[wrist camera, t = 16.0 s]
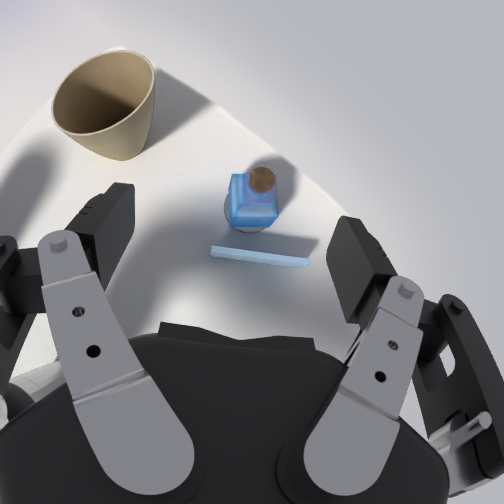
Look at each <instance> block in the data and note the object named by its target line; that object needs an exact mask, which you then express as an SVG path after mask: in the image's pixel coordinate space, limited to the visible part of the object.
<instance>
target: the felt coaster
mask: <svg viewBox="0 0 504 504" xmlns="http://www.w3.org/2000/svg"><path fill="white" fill-rule="evenodd" d="M224 212H225V216H226V218H227V220H228V222H229V194H228V195H227V197H226V199H225V203H224ZM234 228H235V229H237V230H239V231H242V232H246V233H254V232H258V231H261V230H263V229H264V228H265V227H234Z"/></svg>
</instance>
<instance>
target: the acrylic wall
mask: <svg viewBox="0 0 504 504" xmlns="http://www.w3.org/2000/svg"><path fill="white" fill-rule="evenodd" d="M210 256H213V257H220V258H228V259H235V260H242V261H250V262H257V263H265V264H272V265H280V266H287V267H295V268H301V267H304V266H307V265H310V259H306V258H299V257H292V256H285V255H277V254H270V253H263V252H256V251H249V250H242V249H234V248H227V247H220V246H213V245H212V246H211V255H210Z"/></svg>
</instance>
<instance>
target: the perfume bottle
mask: <svg viewBox="0 0 504 504" xmlns="http://www.w3.org/2000/svg"><path fill="white" fill-rule="evenodd" d="M277 217H278V206H277V190H276V175H274V174H273V172H272V171H271V170H269V169H267V168H264V167H258V168H256V169H254V170H253V171H252V172H251V174H232V176H231V181H230V185H229V227H269V226H270V225H271V224H272V223H273V222H274V221H275V220H276V219H277Z"/></svg>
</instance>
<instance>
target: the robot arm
mask: <svg viewBox="0 0 504 504" xmlns="http://www.w3.org/2000/svg"><path fill="white" fill-rule="evenodd" d="M134 227H135V188H134V185H133V184H126V183H116V182H115V183H113V184H112V186H111V187H110V188H109V189H108V190H107V191H106V192H105V193H104V194H99V195H97V196H95V197H93V198H92V199H90V200H89V201H88V202H87V203H86V205H85V206H84V208H82V209H81V210H80V211H79V214H77V215H76V216H75V217H74V218H73V220H72V221H71V222H70V223H69V224H68V226H67V227H66V228H65V229H64V230H59V231H55V232H52V233H49V234H48V235H46V236H45V237H43V238H42V239H41V240H40V242H39V244H38V247H36V248H27V249H18V245H17V242H16V239H15V238H14V237H12V236H0V504H447V499H448V498H451V497H454V496H457V495H459V494H462V493H464V492H467V491H471V490H474V489H476V488H478V487H480V486H482V485H484V484H486V483H488V482H490V481H492V480H494V479H496V478H498V477H499V476H500V475H502V474H503V473H504V381H503V378H502V376H501V374H500V371H499V369H498V367H497V365H496V362H495V361H494V358H493V356H492V354H491V352H490V350H489V348H488V345H487V343H486V341H485V339H484V337H483V336H482V334H481V332H480V330H479V328H478V326H477V324H476V322H475V320H474V319H473V317H472V315H471V313H470V311H469V310H468V308H467V306H466V305H465V304H464V303H463V302H462V301H461V300H460V299H458V298H457V297H455V296H453V295H450V294H445V295H443V296H442V298H441V299H440V300H439V302H438V303H437V304H436V303H434V302H431V301H428V300H425V299H424V294H423V292H422V290H421V289H420V288H419V286H418V285H417V284H416V283H414V282H413V281H411V280H410V279H407V278H405V277H402V276H398V274H397V273H396V271H395V269H394V267H393V266H392V264H391V262H390V260H389V259H388V257H386V256H387V255H386V254H385V252H384V251H383V249H382V247H381V245H380V244H379V242H378V241H377V240H376V239H375V238H374V237H373V236H372V235H371V234H370V233H368V231H367V230H366V228H365V226H364V225H363V223H362V221H361V220H360V219H357V218H352V217H347V216H341V217H340V218H339V220H338V222H337V225H336V228H335V230H334V233H333V236H332V238H331V241H330V243H329V246H328V249H327V254H326V261H327V265H328V268H329V271H330V274H331V277H332V280H333V283H334V286H335V289H336V292H337V295H338V298H339V301H340V304H341V307H342V310H343V313H344V317H345V320H346V323H354V324H359V326H360V330H359V332H358V333H357V335H356V337H355V339H354V340H353V342H352V344H351V346H350V347H349V349H348V351H347V353H346V354H345V356H344V358H343V360H342V361H340V360H338V359H336V358H335V357H333V356H331V355H329V354H327V353H324V352H321V351H319V350H315V345H314V340H313V338H304V337H289V336H271V337H264V338H256V339H247V340H236V339H233V338H230V337H227V336H223V335H220V334H217V333H214V332H211V331H208V330H206V329H203V328H200V327H194V326H186V325H179V324H173V323H166V322H161V323H160V327H159V331H158V333H151V334H145V335H140V336H137V337H133V338H131V339H128V340H127V338H126V336H125V334H124V332H123V330H122V328H121V326H120V324H119V322H118V320H117V318H116V316H115V314H114V312H113V310H112V308H111V306H110V303H109V301H108V299H107V297H106V295H105V290H106V288H107V286H108V284H109V281H110V279H111V277H112V275H113V273H114V271H115V269H116V267H117V265H118V263H119V261H120V259H121V257H122V255H123V253H124V251H125V249H126V247H127V245H128V243H129V241H130V239H131V237H132V235H133V232H134ZM37 313H47V317H48V321H49V325H50V329H51V333H52V337H53V340H54V344H55V347H56V351H57V354H58V358H59V360H58V361H54V362H52V363H50V364H47V365H44V366H42V367H39V368H37V369H34V370H32V371H29V372H26V373H24V374H21V375H19V376H16V377H13V378H11V379H10V377H11V374H12V372H13V369H14V366H15V364H16V361H17V359H18V356H19V354H20V351H21V349H22V346H23V344H24V341H25V339H26V337H27V335H28V332H29V330H30V328H31V326H32V323H33V321H34V319H35V317H36V315H37ZM448 344H449V346H450V349H451V351H452V354H453V356H454V358H455V368H454V371H453V372H452V374H451V375H449V376H448V377H447V374H446V371H445V368H444V366H443V363H442V361H441V358H440V356H439V354H440V353H441V352H442V351H443V350H444V349H445V347H446V346H447V345H448ZM411 377H412V380H413V384H414V387H415V391H416V394H417V398H418V401H419V405H420V409H421V412H422V416H423V420H424V424H425V428H426V432H427V437H428V442H427V441H426V440H425V439H424V438H422V437H421V436H420V435H419V434H418V433H417V432H416V431H415V430H414V429H413V428H412V427H411V426H410V425H409V424H407V423H406V422H405V421H404V420H403V419H402V418H401V417H400V416H399V413H400V410H401V407H402V405H403V402H404V398H405V396H406V393H407V390H408V387H409V384H410V380H411Z"/></svg>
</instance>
